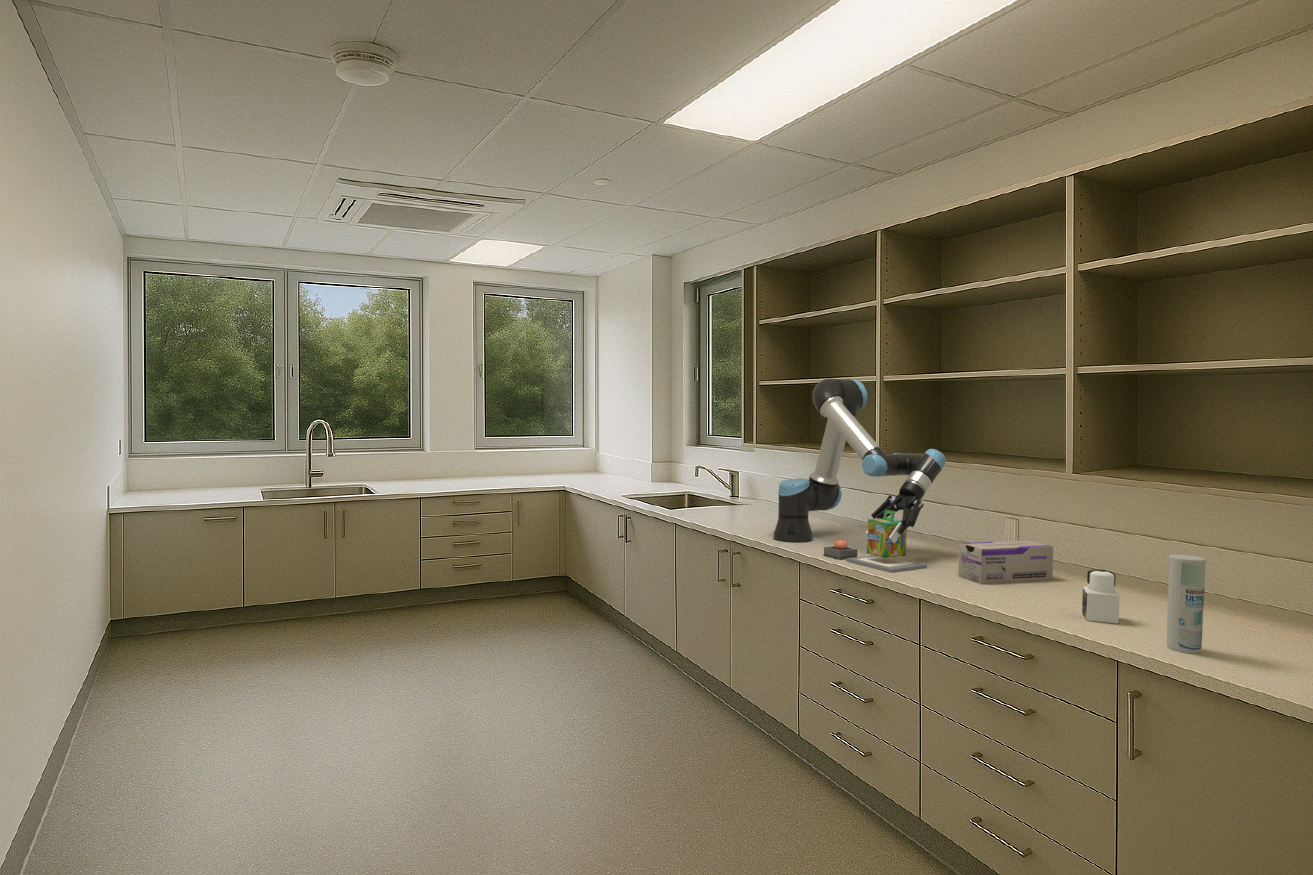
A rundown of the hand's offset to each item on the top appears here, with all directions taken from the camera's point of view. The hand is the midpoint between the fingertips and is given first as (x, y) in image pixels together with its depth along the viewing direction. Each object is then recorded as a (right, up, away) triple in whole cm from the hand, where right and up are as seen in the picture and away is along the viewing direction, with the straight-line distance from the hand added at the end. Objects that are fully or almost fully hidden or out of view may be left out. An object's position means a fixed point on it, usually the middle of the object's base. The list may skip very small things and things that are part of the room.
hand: (879, 537), depth 255 cm
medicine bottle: (+36, -12, -63) cm, 74 cm away
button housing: (-9, -8, +15) cm, 19 cm away
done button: (-9, -6, +15) cm, 18 cm away
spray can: (+41, -13, -87) cm, 97 cm away
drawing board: (+3, -9, +2) cm, 10 cm away
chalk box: (+3, -6, +2) cm, 7 cm away
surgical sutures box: (+33, -11, -17) cm, 39 cm away
